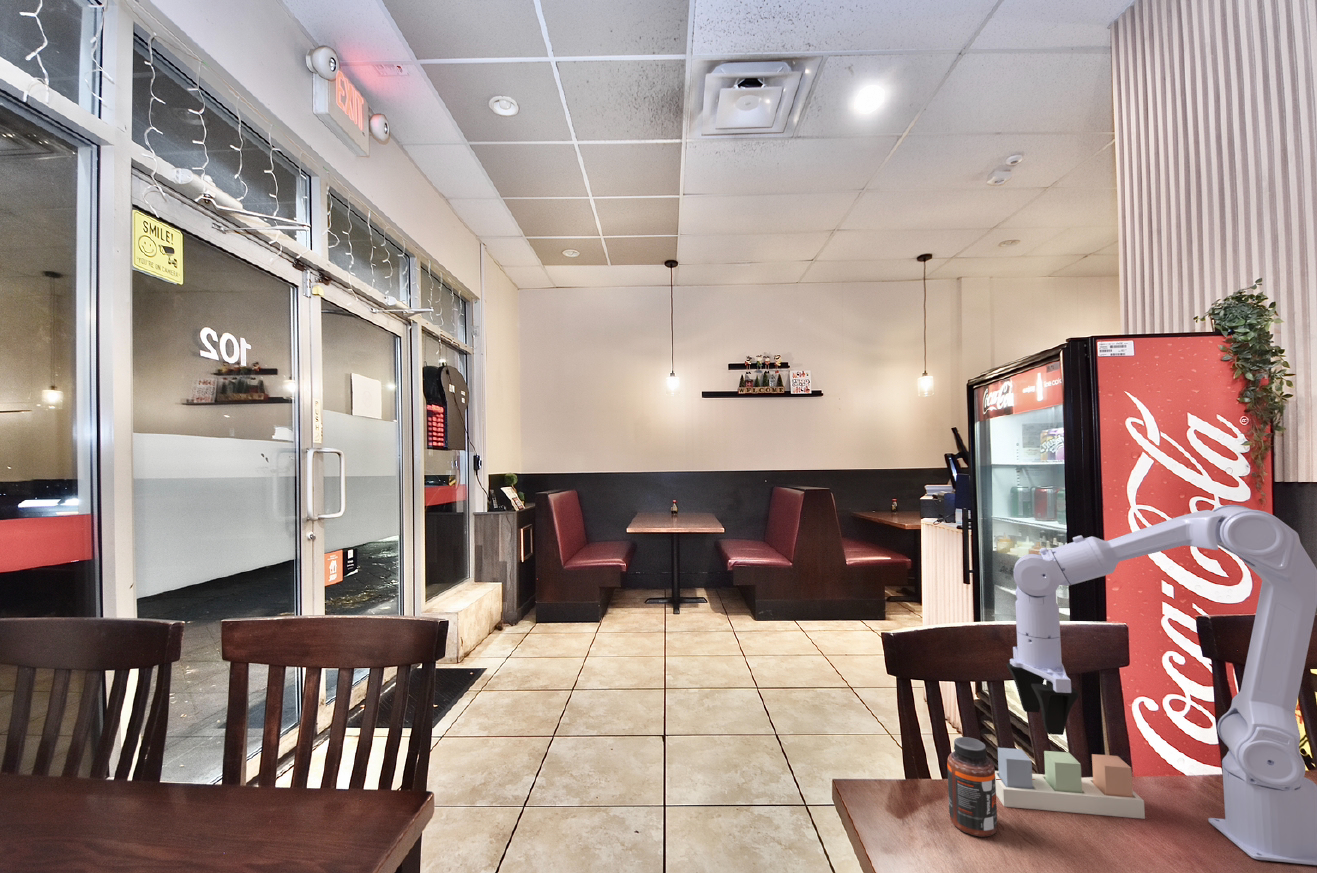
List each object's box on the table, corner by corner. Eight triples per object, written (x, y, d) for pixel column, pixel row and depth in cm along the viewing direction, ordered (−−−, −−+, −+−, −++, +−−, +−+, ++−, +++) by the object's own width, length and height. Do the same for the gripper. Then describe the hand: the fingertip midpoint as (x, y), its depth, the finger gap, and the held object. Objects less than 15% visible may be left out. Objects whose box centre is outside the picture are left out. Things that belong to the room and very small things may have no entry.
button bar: (1122, 797, 87) (1122, 780, 87) (1144, 818, 82) (1144, 800, 82) (990, 786, 90) (990, 770, 90) (1004, 806, 85) (1003, 789, 85)
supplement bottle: (1004, 841, 77) (1001, 755, 78) (956, 836, 79) (953, 751, 79) (988, 814, 83) (985, 734, 84) (944, 810, 84) (941, 731, 85)
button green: (1070, 782, 87) (1068, 752, 88) (1082, 795, 84) (1080, 764, 84) (1045, 781, 88) (1044, 750, 88) (1056, 793, 85) (1054, 762, 85)
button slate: (1023, 779, 89) (1021, 749, 89) (1032, 791, 85) (1031, 760, 85) (998, 777, 89) (997, 747, 89) (1007, 789, 86) (1006, 758, 86)
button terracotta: (1119, 786, 86) (1117, 756, 86) (1133, 800, 83) (1131, 767, 83) (1093, 784, 87) (1091, 754, 87) (1106, 797, 83) (1104, 766, 84)
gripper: (992, 619, 98) (995, 701, 97) (1031, 647, 84) (1035, 742, 83) (1037, 620, 97) (1041, 703, 96) (1085, 648, 82) (1090, 746, 82)
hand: (1042, 722), depth 89 cm, fingers open, 7 cm apart
